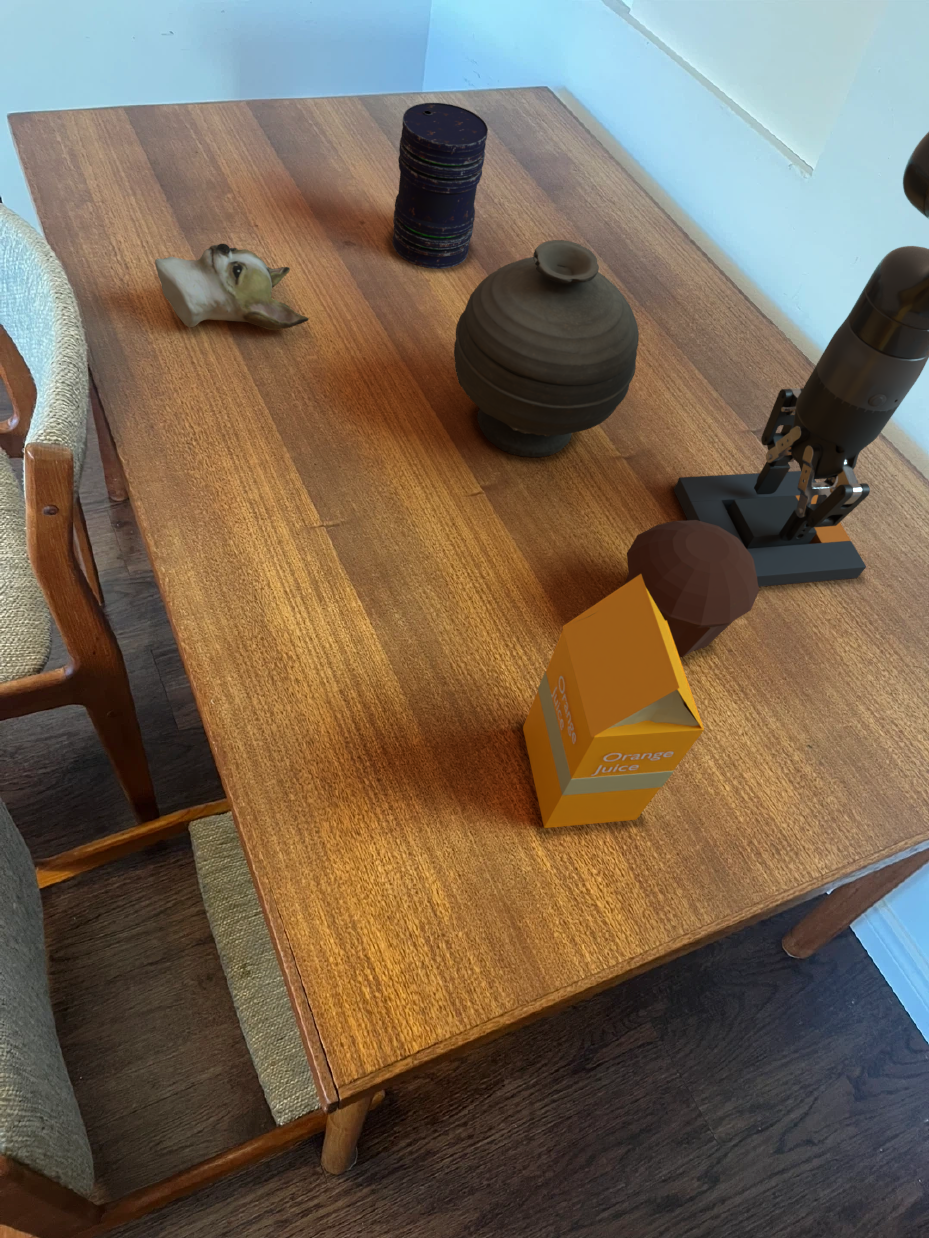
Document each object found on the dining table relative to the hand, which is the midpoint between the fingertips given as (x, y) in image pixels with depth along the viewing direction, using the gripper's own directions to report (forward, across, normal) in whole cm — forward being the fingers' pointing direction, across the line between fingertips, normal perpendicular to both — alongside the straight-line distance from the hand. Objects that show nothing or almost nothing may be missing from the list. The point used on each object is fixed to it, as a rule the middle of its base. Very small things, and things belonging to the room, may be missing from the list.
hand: (776, 513), depth 87 cm
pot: (+3, +17, +21) cm, 27 cm away
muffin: (+3, -9, +14) cm, 17 cm away
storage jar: (+3, +50, +25) cm, 56 cm away
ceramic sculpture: (+3, +36, +50) cm, 62 cm away
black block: (+3, 0, 0) cm, 3 cm away
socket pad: (+3, 0, 0) cm, 3 cm away
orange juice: (+3, -23, +27) cm, 36 cm away
